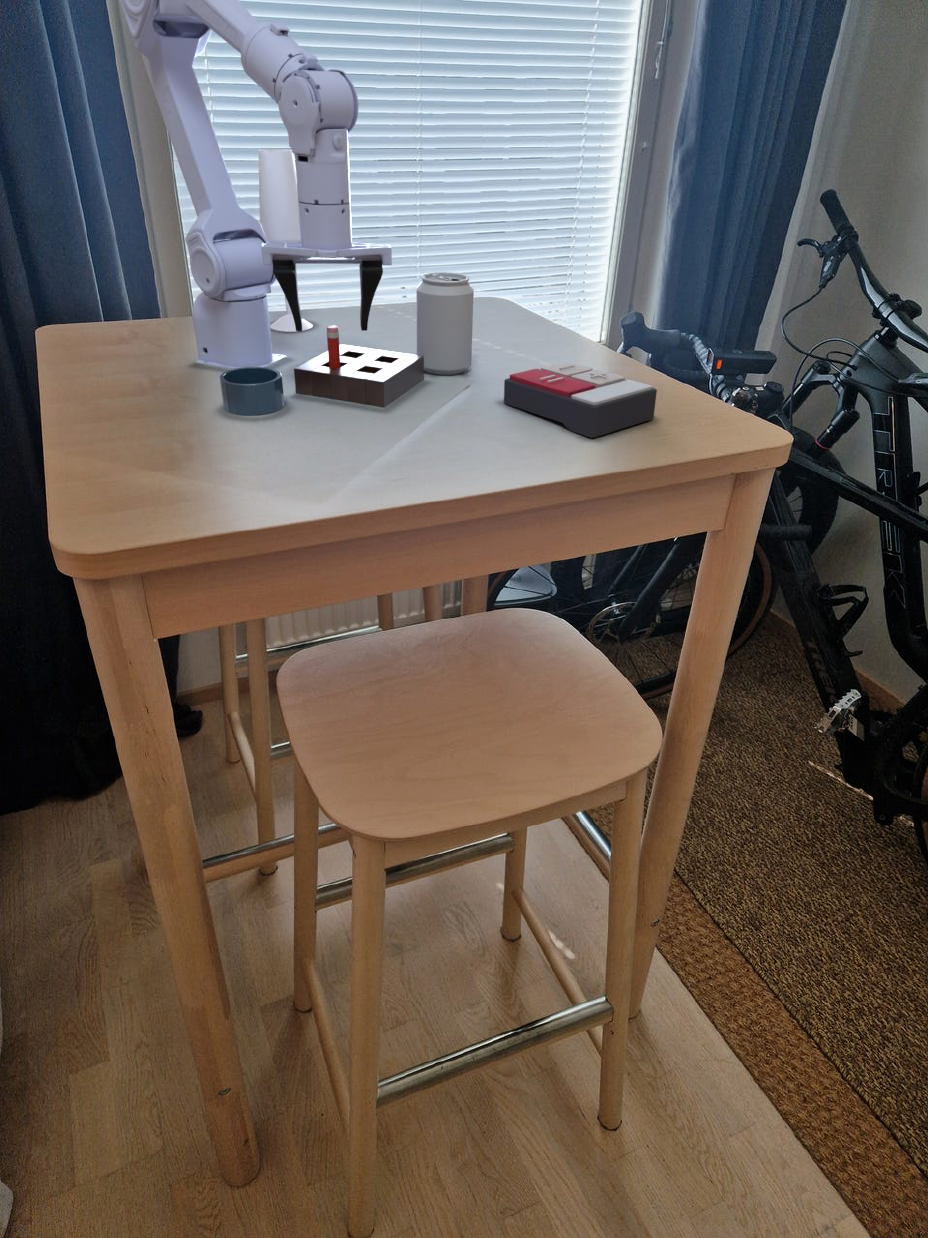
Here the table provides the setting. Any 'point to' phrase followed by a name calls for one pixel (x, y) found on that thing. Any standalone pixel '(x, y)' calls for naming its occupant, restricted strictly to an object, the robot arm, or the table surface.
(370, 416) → the table surface
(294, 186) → the champagne flute
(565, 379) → the calculator
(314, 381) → the pencil stand
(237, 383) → the cup
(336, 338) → the pencil
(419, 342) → the can
